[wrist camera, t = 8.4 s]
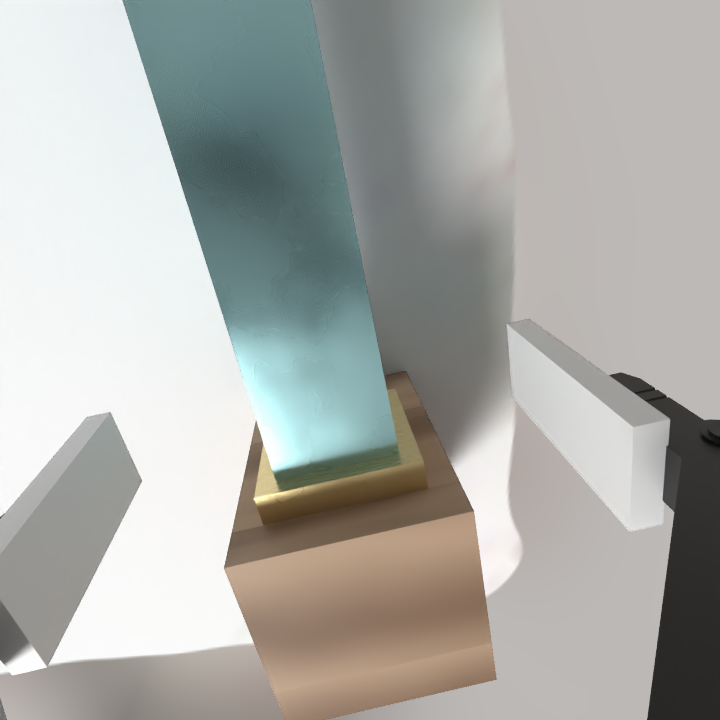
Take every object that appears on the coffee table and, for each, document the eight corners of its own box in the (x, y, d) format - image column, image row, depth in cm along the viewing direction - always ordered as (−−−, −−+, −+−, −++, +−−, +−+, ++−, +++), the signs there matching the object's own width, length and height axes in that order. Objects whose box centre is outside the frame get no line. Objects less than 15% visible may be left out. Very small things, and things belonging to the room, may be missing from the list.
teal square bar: (58, -264, 13) (-110, -558, 8) (264, -304, 13) (233, -621, 8) (301, 527, 24) (299, 630, 18) (416, 501, 24) (447, 596, 19)
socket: (259, 404, 26) (224, 568, 15) (406, 371, 26) (473, 511, 15) (296, 521, 29) (288, 728, 18) (427, 491, 29) (496, 679, 18)
